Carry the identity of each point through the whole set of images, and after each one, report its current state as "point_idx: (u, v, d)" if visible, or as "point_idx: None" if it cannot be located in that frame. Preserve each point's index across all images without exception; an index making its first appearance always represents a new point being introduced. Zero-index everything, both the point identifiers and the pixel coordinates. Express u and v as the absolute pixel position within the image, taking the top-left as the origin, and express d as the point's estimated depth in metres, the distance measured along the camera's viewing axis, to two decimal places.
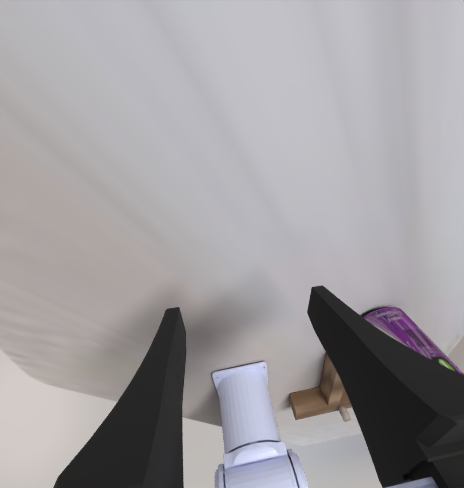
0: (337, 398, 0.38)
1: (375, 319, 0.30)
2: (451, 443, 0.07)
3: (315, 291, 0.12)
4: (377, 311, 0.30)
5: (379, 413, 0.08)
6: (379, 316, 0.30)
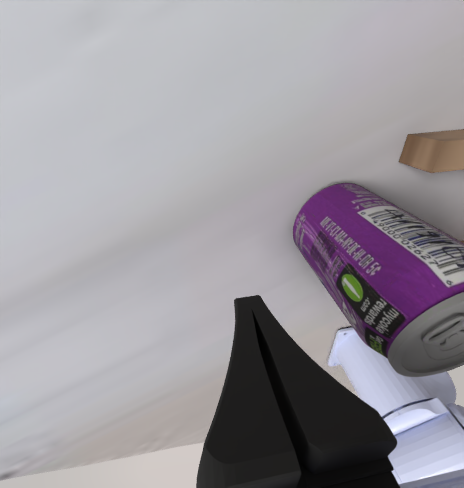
0: None
1: None
2: (337, 469, 0.06)
3: (248, 301, 0.12)
4: (294, 241, 0.20)
5: None
6: (298, 247, 0.20)
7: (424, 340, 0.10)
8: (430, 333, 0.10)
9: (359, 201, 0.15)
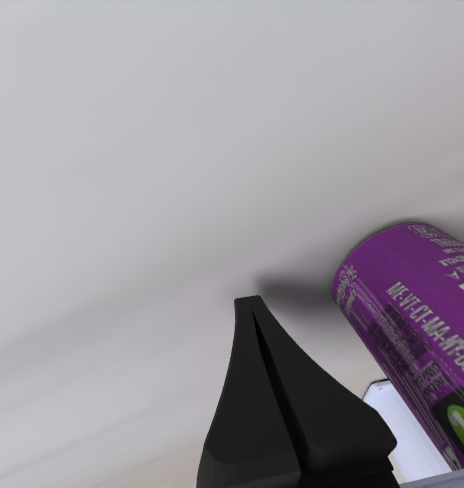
0: None
1: None
2: (337, 469, 0.06)
3: (249, 301, 0.12)
4: (333, 296, 0.15)
5: None
6: (340, 307, 0.14)
7: None
8: None
9: (453, 262, 0.10)
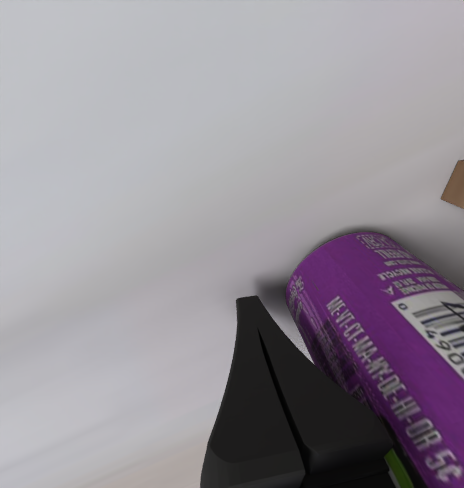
0: None
1: None
2: (333, 470, 0.06)
3: (246, 301, 0.12)
4: (288, 307, 0.14)
5: None
6: None
7: None
8: None
9: (391, 276, 0.09)
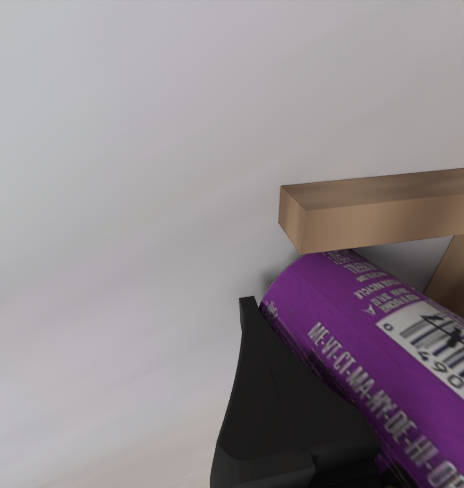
0: None
1: None
2: (322, 472, 0.06)
3: (240, 302, 0.12)
4: None
5: None
6: None
7: None
8: None
9: (367, 292, 0.09)
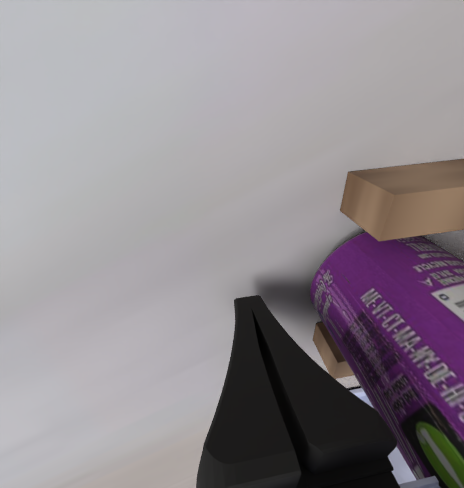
0: None
1: None
2: (337, 469, 0.06)
3: (248, 301, 0.12)
4: (312, 302, 0.14)
5: None
6: (318, 313, 0.14)
7: None
8: None
9: (428, 268, 0.09)
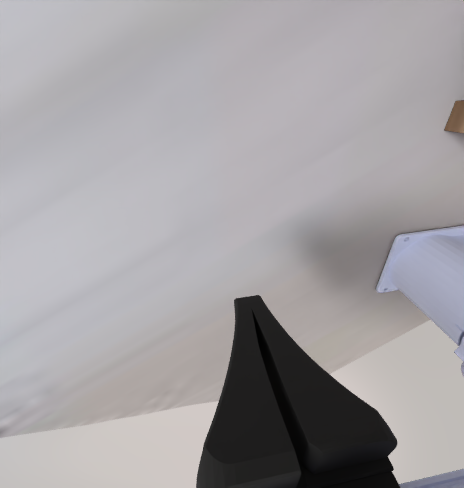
0: None
1: None
2: (337, 469, 0.06)
3: (248, 301, 0.12)
4: None
5: None
6: None
7: None
8: None
9: None
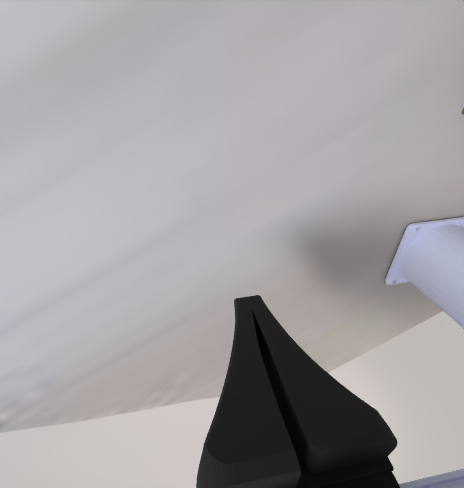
0: None
1: None
2: (337, 469, 0.06)
3: (249, 301, 0.12)
4: None
5: None
6: None
7: None
8: None
9: None
